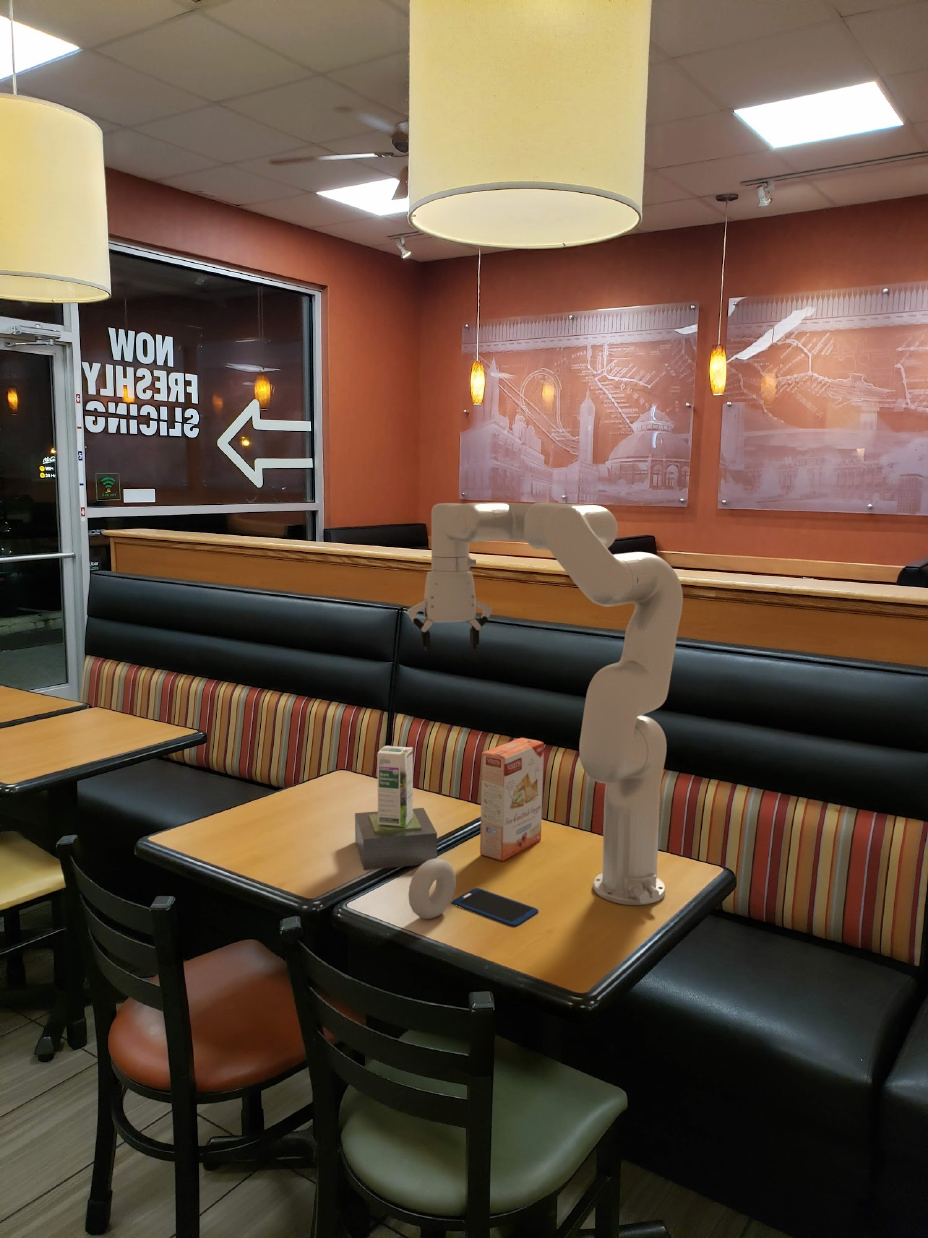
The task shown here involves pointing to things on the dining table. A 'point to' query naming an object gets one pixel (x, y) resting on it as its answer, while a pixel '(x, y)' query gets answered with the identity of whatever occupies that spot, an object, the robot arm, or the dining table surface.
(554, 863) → the dining table surface
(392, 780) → the syrup box
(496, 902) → the cell phone
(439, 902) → the donut
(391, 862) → the stand
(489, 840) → the cracker box
